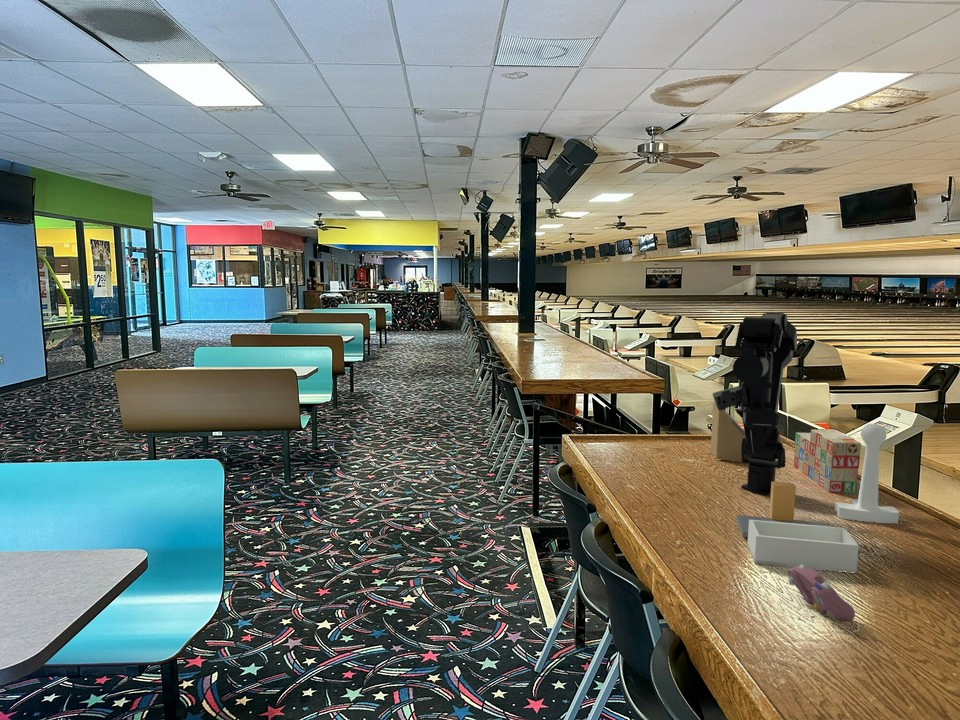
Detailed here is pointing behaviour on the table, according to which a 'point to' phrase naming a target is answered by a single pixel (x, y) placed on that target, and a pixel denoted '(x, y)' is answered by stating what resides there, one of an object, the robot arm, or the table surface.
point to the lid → (778, 508)
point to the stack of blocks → (828, 459)
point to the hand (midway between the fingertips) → (752, 448)
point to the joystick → (869, 484)
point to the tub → (802, 546)
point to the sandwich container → (726, 436)
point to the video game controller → (819, 592)
